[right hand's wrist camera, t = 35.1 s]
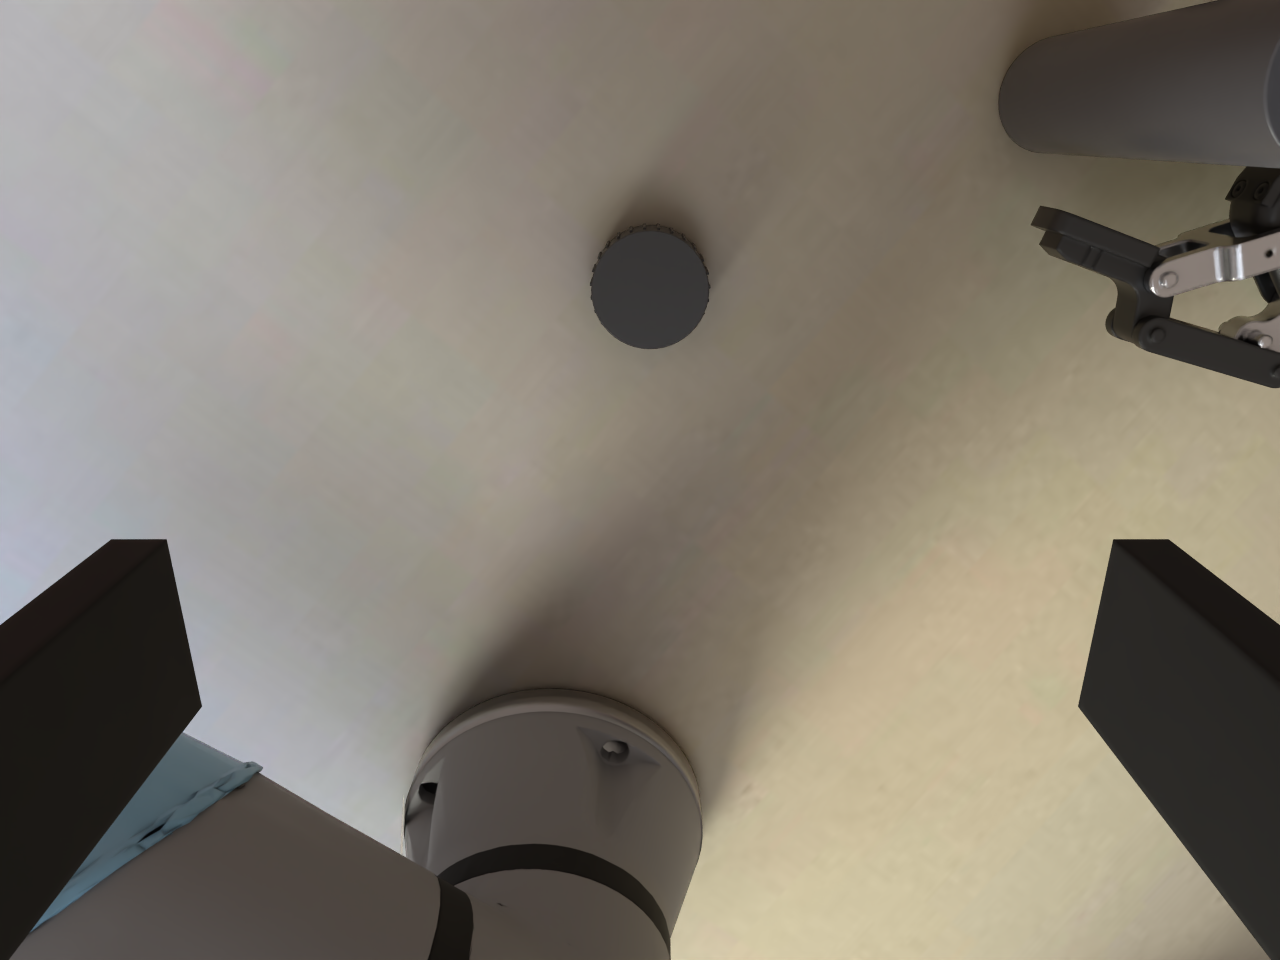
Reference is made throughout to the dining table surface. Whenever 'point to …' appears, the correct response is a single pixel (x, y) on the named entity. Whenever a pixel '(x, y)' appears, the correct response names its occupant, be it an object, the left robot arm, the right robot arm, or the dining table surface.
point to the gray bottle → (1155, 88)
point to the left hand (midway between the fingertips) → (1107, 89)
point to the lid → (650, 287)
